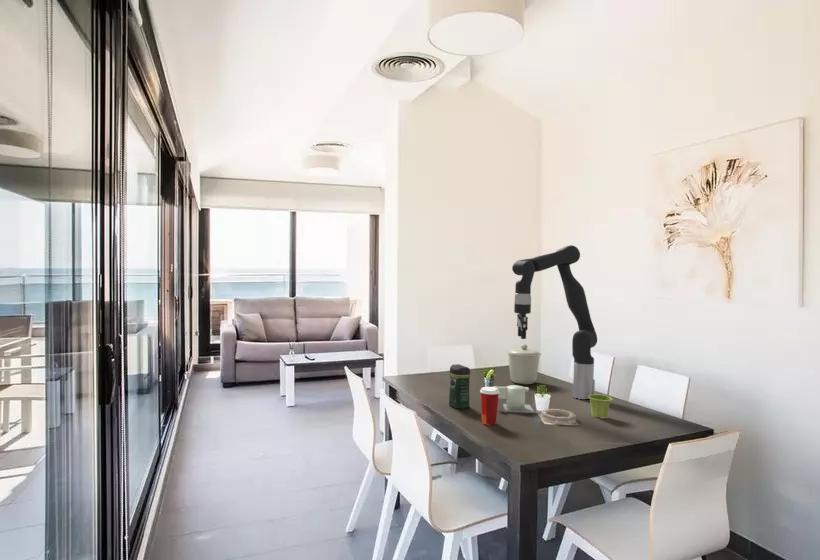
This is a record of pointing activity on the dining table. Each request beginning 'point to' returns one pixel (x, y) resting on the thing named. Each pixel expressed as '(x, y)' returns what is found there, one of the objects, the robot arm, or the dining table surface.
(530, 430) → the dining table surface
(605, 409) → the plant pot
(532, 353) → the canister
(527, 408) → the coaster
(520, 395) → the pitcher
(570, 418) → the holder
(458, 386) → the coffee jar
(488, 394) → the paper cup
